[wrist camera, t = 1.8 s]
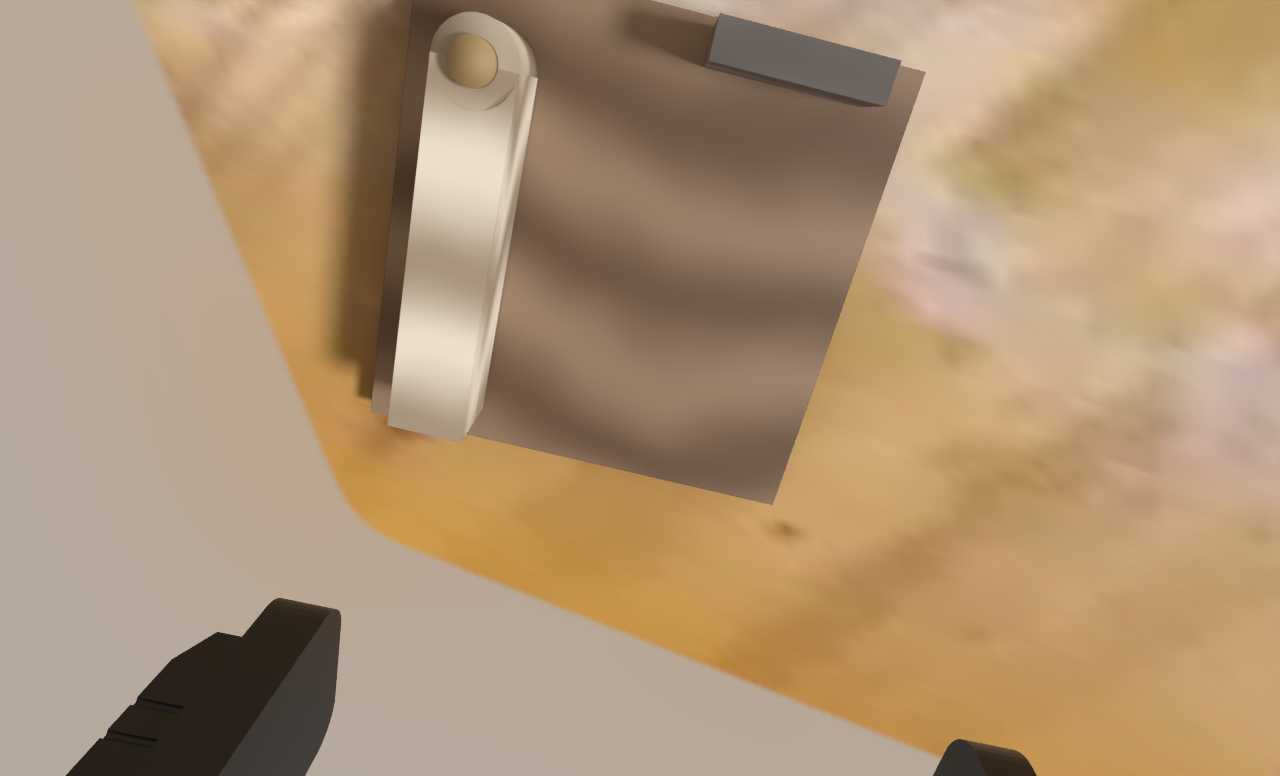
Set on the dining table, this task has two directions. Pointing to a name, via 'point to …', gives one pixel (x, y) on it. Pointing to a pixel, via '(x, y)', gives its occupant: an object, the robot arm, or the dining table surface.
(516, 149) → the folding leg
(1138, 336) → the dining table surface
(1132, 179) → the dining table surface
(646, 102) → the stool base plate
